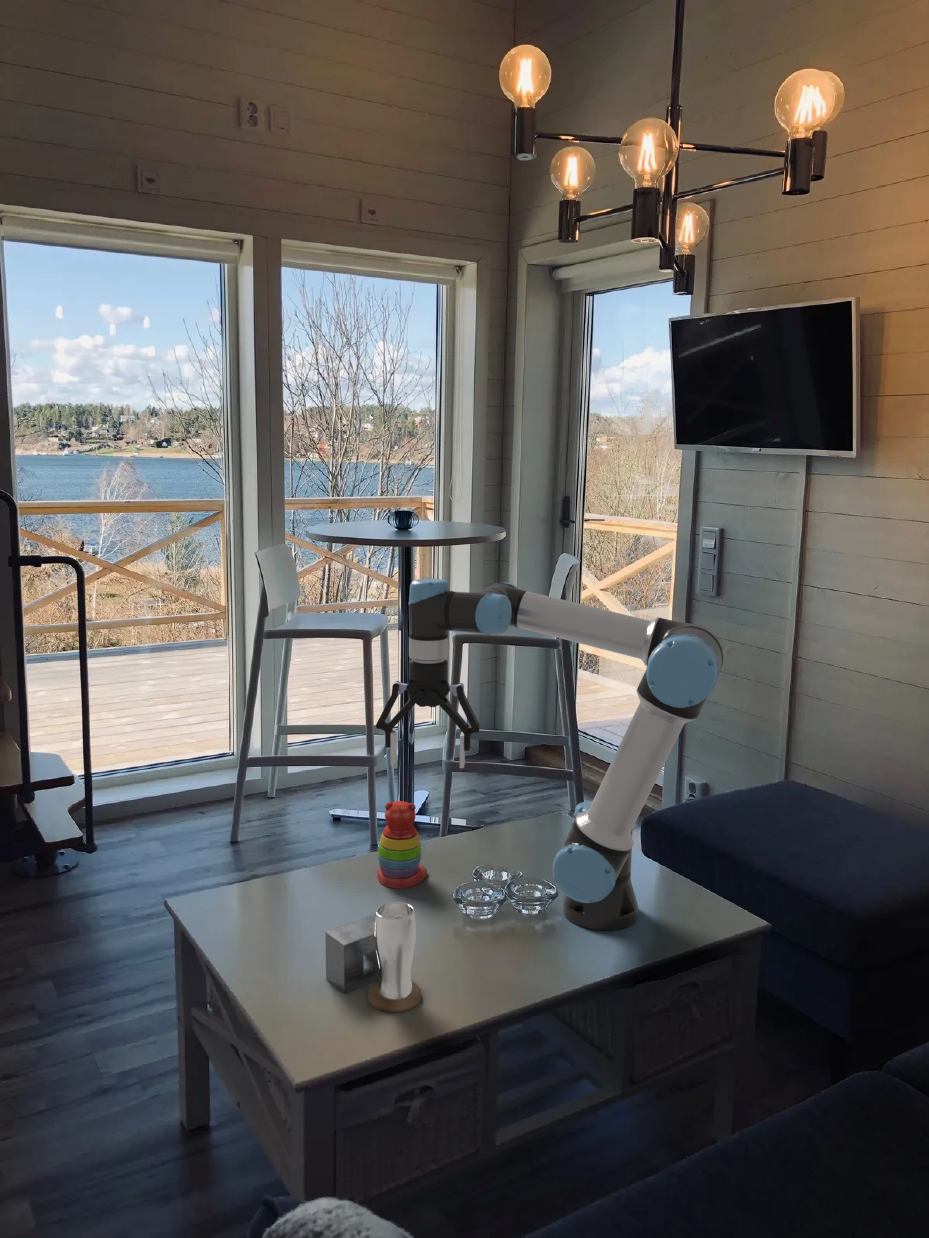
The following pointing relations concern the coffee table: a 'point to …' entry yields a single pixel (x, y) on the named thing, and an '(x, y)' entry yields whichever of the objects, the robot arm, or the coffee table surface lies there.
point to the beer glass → (395, 949)
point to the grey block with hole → (352, 955)
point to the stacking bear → (400, 848)
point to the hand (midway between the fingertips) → (427, 764)
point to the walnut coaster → (393, 1006)
